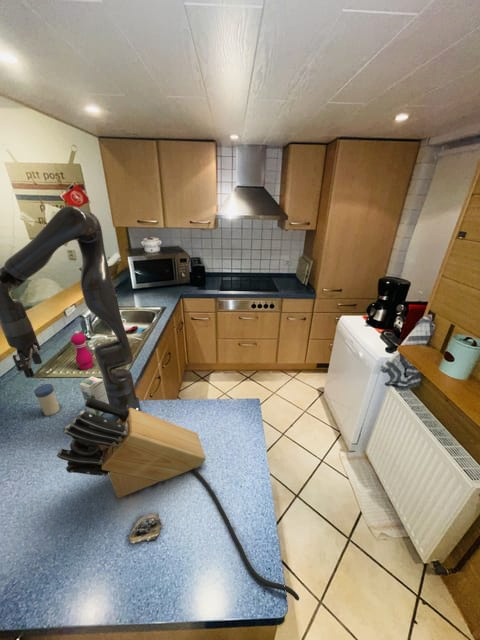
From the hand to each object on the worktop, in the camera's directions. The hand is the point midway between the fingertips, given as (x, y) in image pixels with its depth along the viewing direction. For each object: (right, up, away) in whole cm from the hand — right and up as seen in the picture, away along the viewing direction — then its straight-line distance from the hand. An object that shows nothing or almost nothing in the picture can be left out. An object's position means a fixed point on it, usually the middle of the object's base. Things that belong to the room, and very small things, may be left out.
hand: (34, 370), depth 91 cm
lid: (0, -8, +4) cm, 9 cm away
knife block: (+46, -29, -13) cm, 56 cm away
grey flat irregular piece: (+51, -36, -27) cm, 68 cm away
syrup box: (+19, -18, +9) cm, 27 cm away
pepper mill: (-3, -5, +36) cm, 36 cm away
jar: (0, -18, +9) cm, 20 cm away
